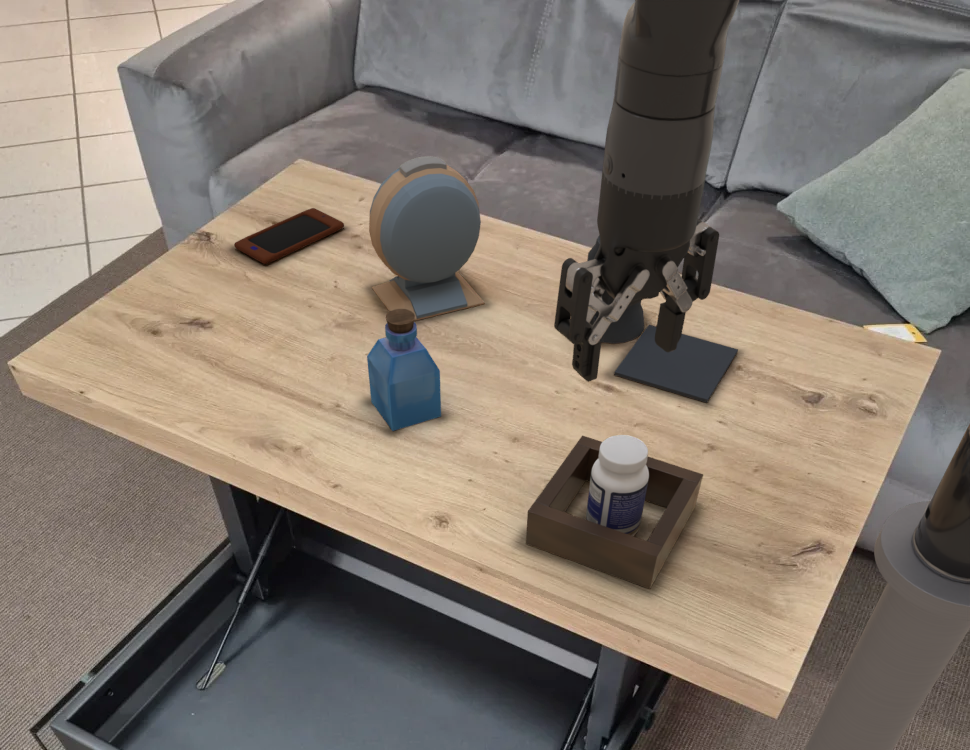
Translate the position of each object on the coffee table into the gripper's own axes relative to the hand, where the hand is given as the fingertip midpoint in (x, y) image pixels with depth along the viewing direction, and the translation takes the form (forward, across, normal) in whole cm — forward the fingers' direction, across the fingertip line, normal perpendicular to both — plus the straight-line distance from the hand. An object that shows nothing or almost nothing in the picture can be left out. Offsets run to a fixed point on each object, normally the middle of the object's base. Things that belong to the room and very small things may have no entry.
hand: (626, 361), depth 81 cm
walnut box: (+21, +2, +1) cm, 21 cm away
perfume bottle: (+21, -7, +29) cm, 37 cm away
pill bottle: (+21, +2, +1) cm, 21 cm away
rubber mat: (+21, +27, +20) cm, 40 cm away
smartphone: (+21, -2, +73) cm, 76 cm away
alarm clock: (+21, +8, +50) cm, 55 cm away
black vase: (+21, +24, +31) cm, 44 cm away
